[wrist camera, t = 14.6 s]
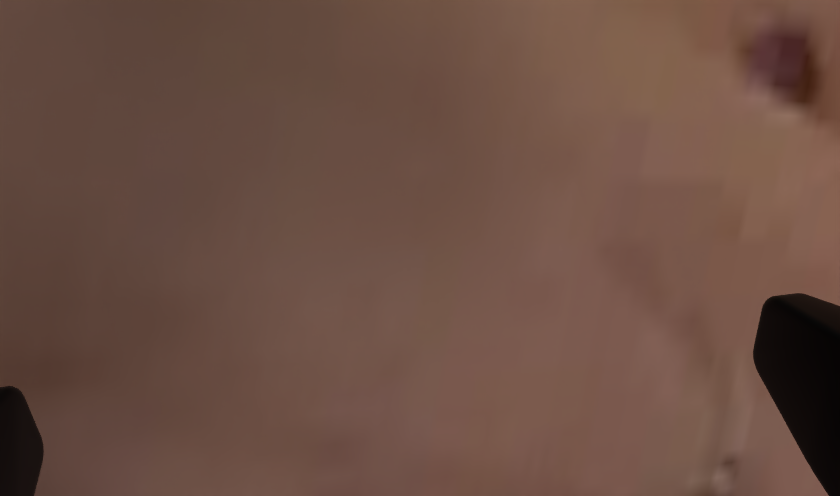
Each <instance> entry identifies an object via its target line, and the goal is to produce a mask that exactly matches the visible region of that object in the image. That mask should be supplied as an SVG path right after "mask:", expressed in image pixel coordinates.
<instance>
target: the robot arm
mask: <svg viewBox="0 0 840 496" xmlns="http://www.w3.org/2000/svg"><path fill="white" fill-rule="evenodd" d="M753 358H754V363H755V366H756V369H757V371H758V373H759V375H760V377H761V379H762V380H763V382H764V384H765V386H766V388H767V389H768V391H769V393H770V395H771V397H772V399H773V400H774V402H775V404H776V406H777V408H778V410H779V411H780V413H781V415H782V417H783V419H784V421H785V422H786V424H787V426H788V428H789V430H790V431H791V433H792V435H793V437H794V439H795V441H796V442H797V444H798V446H799V448H800V450H801V452H802V453H803V455H804V457H805V459H806V460H807V462H808V464H809V465H810V467H811V469H812V470H813V472H814V474H815V475H816V477H817V478H818V480H819V481H820V483H821V484H822V486H823V488H824V489H825V491H826V492H827V494H828V495H829V496H840V306H838V305H835V304H832V303H829V302H826V301H823V300H820V299H818V298H815V297H812V296H809V295H806V294H800V293H796V294H788V295H779V296H772V297H770V298H769V299H767V300H766V301H765V303H764V304H763V307H762V311H761V316H760V321H759V325H758V330H757V335H756V339H755V344H754V350H753ZM43 453H44V450H43V442H42V438H41V435H40V433H39V431H38V428H37V426H36V423H35V421H34V419H33V416H32V414H31V412H30V409H29V407H28V404H27V402H26V400H25V397H24V396H23V394H22V392H21V391H20V390H19V389H17V388H15V387H13V386H6V387H0V496H34V493H35V489H36V485H37V481H38V477H39V473H40V469H41V465H42V461H43Z"/></svg>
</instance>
